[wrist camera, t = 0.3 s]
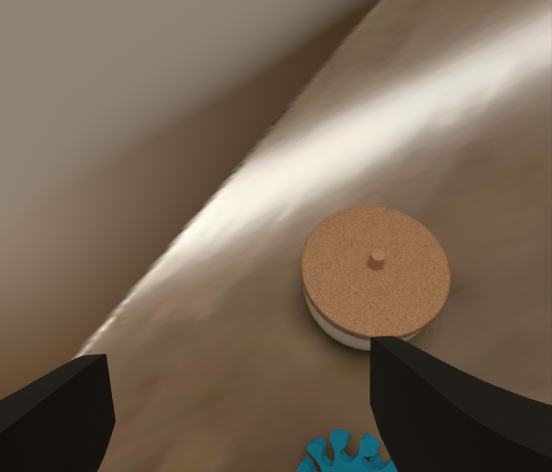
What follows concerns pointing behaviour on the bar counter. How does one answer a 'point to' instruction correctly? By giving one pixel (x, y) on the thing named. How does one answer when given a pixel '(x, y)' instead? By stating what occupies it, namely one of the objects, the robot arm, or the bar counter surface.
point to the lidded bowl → (373, 275)
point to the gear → (345, 467)
